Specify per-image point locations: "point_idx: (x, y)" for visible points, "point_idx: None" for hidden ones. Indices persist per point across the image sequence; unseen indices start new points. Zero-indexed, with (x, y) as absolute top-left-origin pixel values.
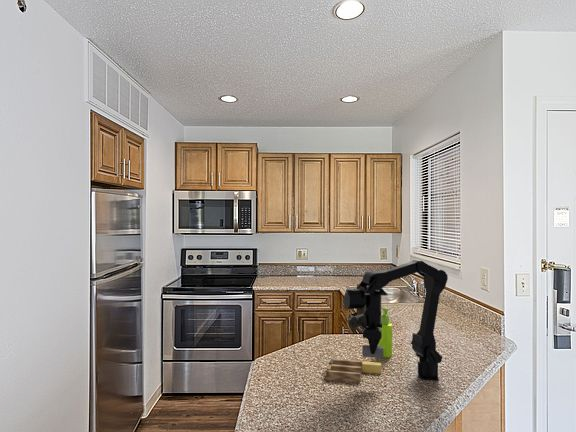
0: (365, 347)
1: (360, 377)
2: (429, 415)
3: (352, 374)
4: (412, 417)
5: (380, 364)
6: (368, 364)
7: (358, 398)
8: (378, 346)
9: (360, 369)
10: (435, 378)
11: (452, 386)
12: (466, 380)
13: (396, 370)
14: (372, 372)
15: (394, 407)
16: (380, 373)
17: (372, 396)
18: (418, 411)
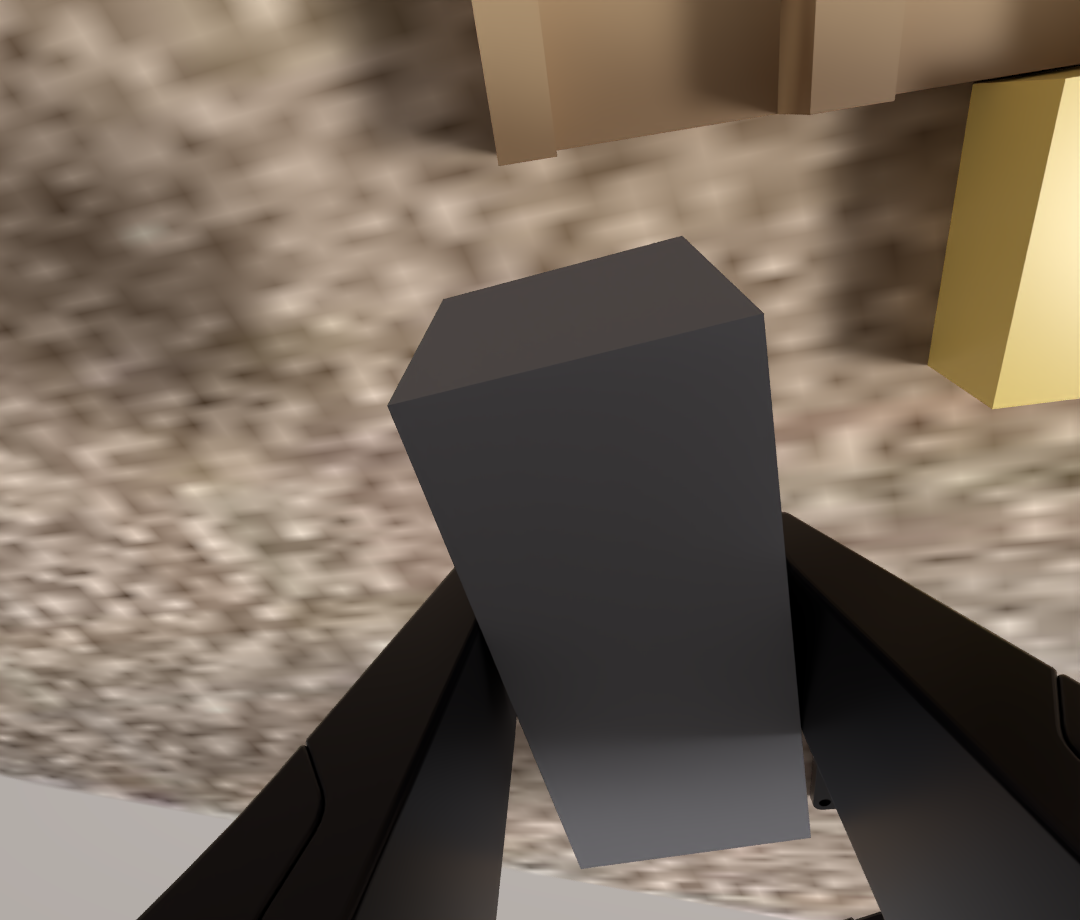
0: (468, 488)
1: (622, 138)
2: (138, 767)
3: (477, 12)
4: (23, 696)
5: (1045, 392)
6: (1038, 208)
7: (18, 252)
8: (743, 778)
9: (800, 102)
10: (822, 793)
11: (713, 852)
12: (853, 905)
13: (1057, 507)
14: (949, 252)
15: (89, 587)
16: (929, 357)
17: (181, 387)
18: (149, 719)
